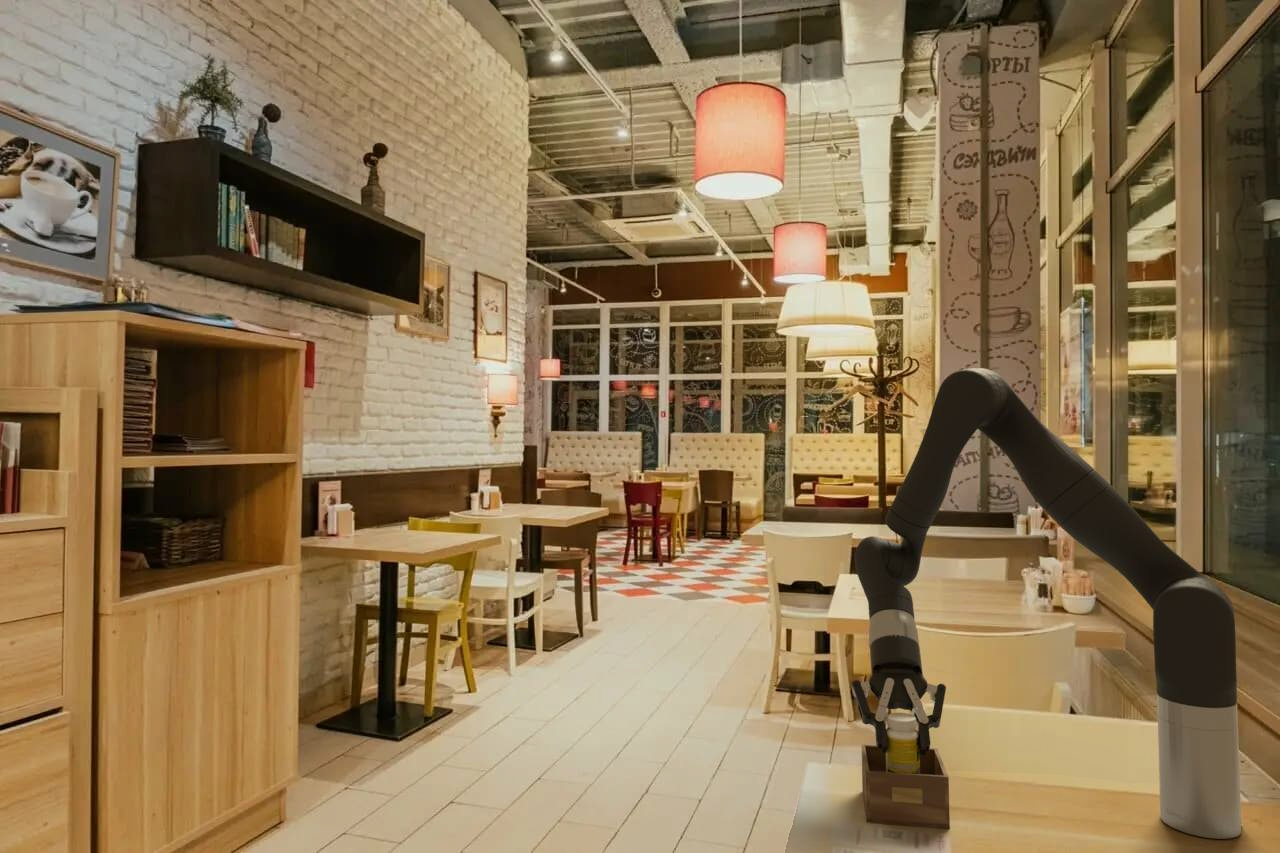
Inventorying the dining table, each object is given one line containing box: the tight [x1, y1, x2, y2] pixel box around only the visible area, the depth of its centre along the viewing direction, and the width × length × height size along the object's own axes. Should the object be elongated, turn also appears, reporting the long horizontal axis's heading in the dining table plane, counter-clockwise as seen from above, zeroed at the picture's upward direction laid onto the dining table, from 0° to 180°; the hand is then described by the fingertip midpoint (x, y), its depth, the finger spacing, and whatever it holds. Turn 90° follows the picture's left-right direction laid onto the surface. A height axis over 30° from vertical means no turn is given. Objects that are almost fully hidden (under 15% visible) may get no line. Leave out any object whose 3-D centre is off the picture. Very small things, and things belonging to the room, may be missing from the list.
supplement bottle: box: [886, 712, 920, 774], centre depth 123 cm, size 5×5×8 cm
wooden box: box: [861, 744, 951, 829], centre depth 122 cm, size 11×11×7 cm
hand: (903, 751), depth 121 cm, fingers closed on supplement bottle, 4 cm apart
